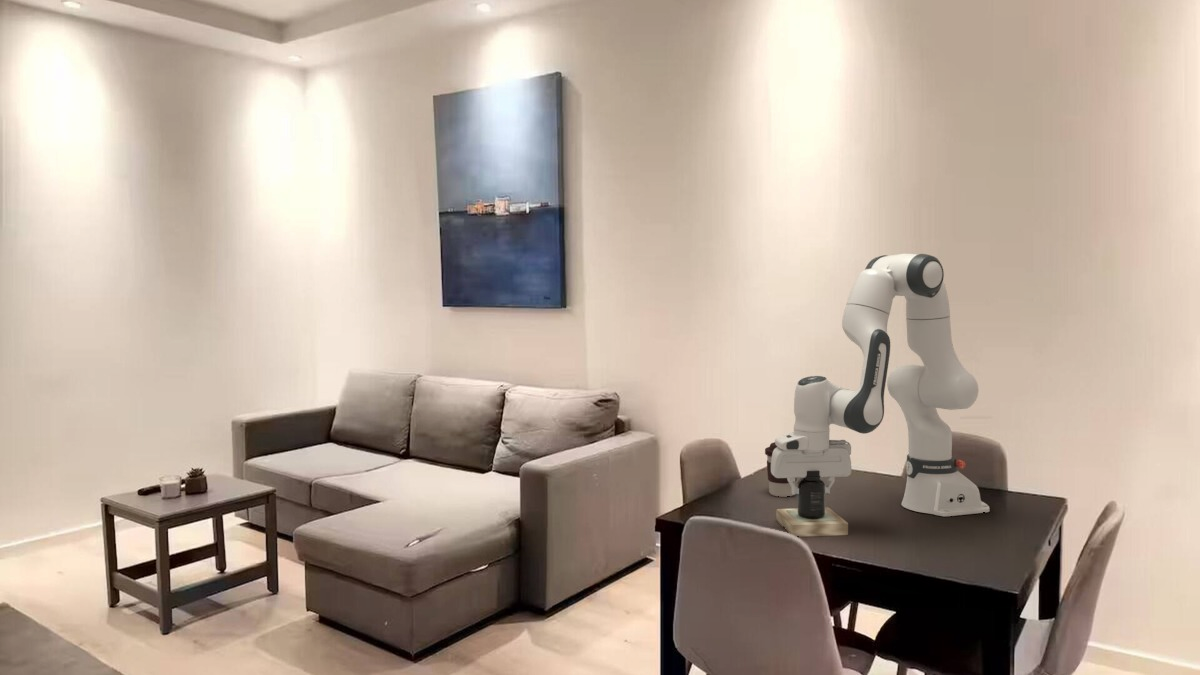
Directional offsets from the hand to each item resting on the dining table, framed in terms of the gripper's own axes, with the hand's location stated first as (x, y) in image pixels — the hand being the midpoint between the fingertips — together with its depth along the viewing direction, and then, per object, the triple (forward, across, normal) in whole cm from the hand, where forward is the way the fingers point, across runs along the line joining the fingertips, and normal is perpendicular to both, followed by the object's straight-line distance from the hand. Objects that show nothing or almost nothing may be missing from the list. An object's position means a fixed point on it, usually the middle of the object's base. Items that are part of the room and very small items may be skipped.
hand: (810, 493), depth 210 cm
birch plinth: (+9, 0, 0) cm, 9 cm away
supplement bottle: (+6, 0, 0) cm, 6 cm away
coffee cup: (+9, -2, -32) cm, 33 cm away
